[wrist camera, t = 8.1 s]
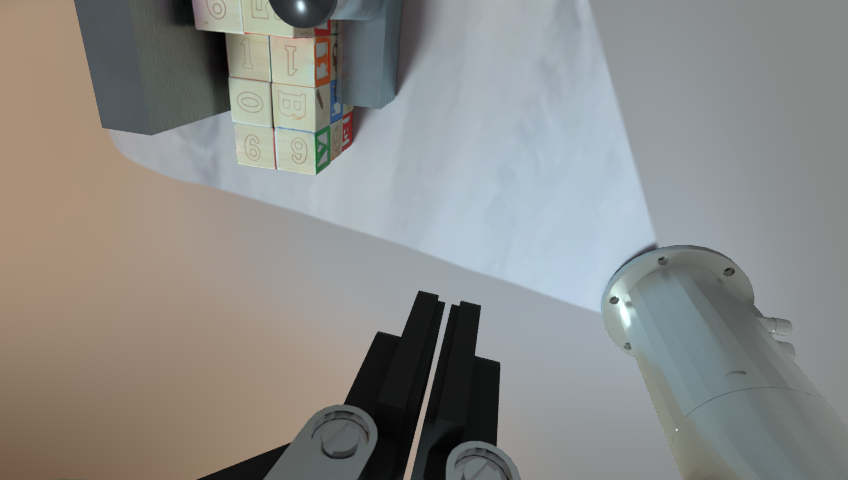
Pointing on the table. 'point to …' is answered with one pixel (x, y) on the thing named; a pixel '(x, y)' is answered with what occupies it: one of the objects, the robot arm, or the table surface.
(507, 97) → the table surface
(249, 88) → the stack of blocks
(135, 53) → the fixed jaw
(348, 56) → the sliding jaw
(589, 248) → the table surface
